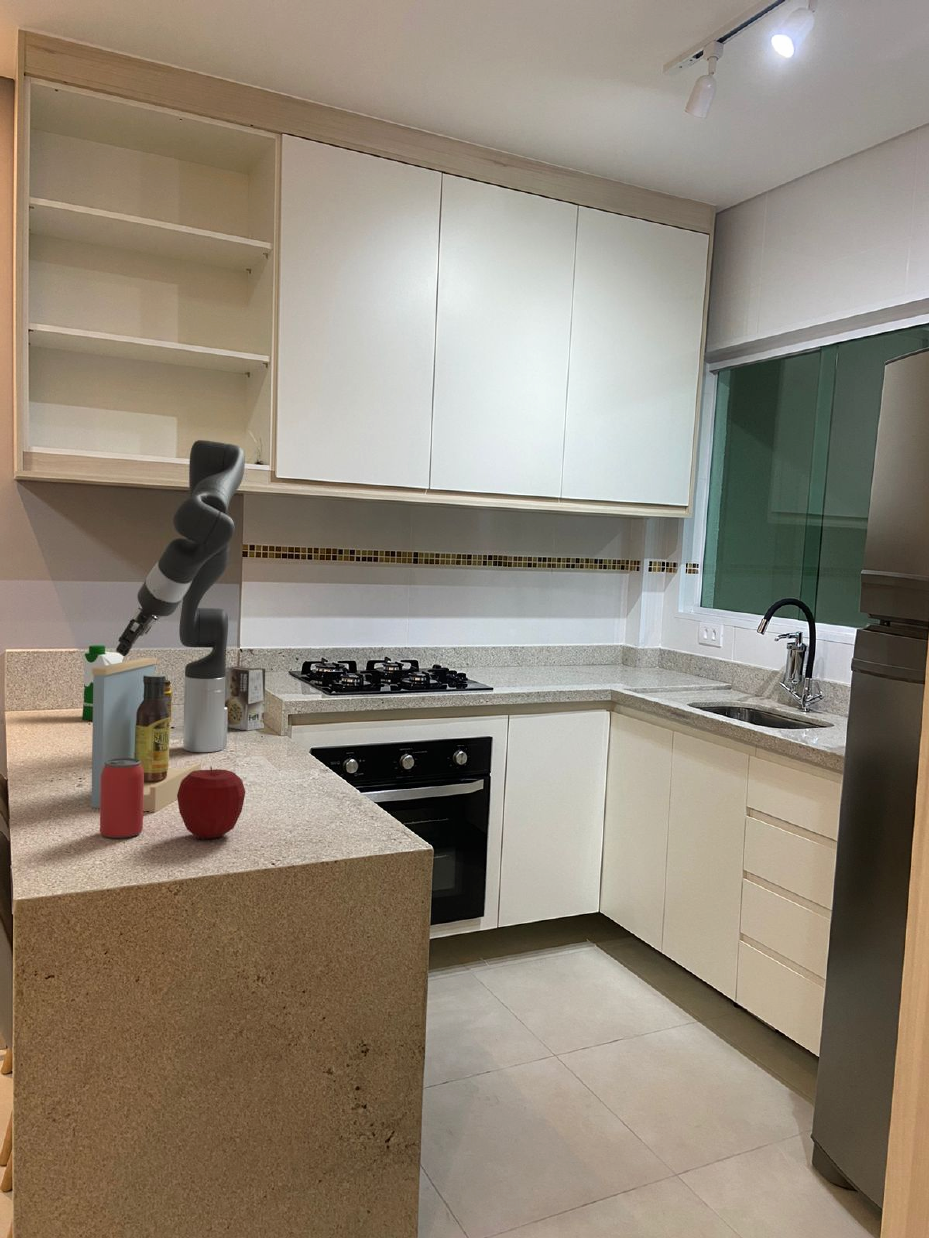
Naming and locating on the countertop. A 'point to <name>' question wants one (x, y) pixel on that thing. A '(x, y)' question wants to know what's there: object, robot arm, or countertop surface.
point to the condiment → (168, 696)
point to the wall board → (125, 728)
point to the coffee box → (245, 697)
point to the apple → (210, 802)
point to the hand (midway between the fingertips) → (131, 641)
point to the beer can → (121, 798)
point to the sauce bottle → (153, 730)
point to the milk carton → (90, 661)
